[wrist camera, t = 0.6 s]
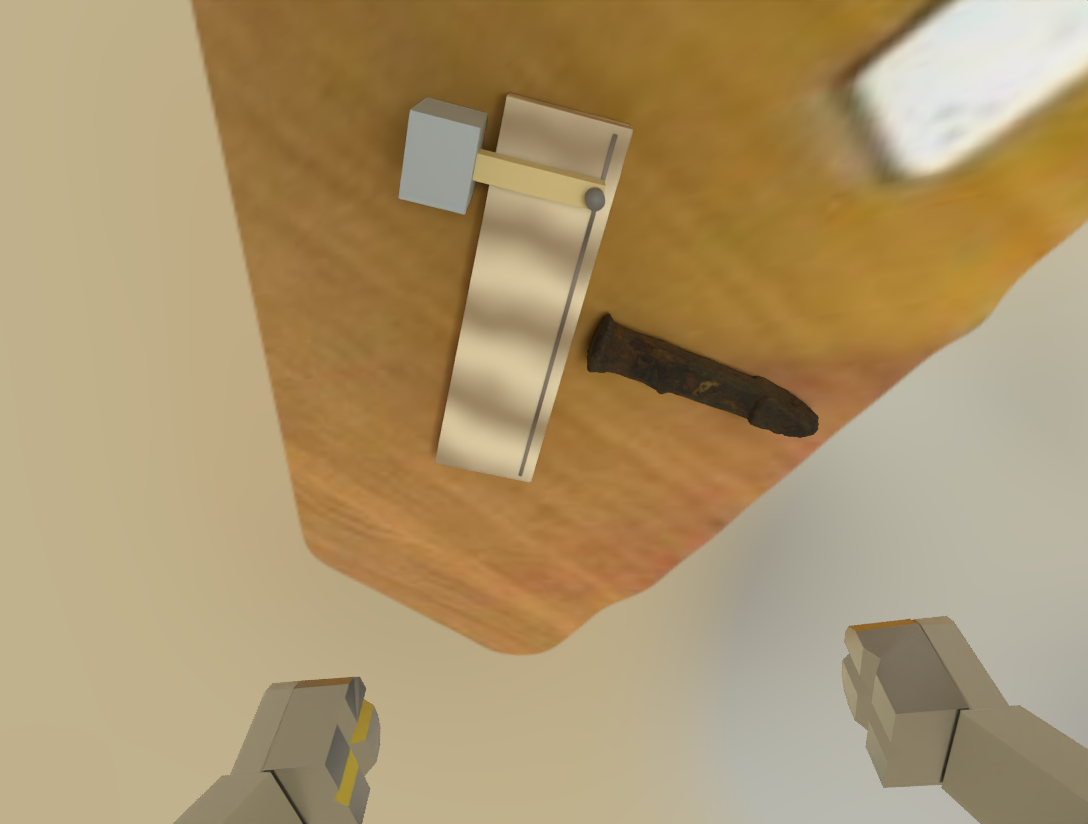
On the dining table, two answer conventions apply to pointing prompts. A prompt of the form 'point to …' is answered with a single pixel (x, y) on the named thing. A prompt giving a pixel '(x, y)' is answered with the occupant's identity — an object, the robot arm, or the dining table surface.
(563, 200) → the grey mallet
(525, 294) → the board
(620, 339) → the rusty railroad spike
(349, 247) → the dining table surface
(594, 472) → the dining table surface
